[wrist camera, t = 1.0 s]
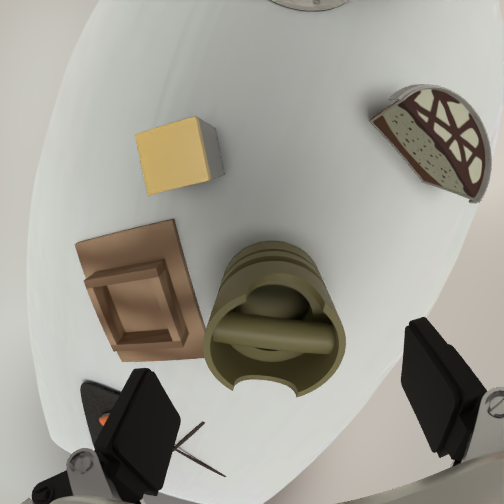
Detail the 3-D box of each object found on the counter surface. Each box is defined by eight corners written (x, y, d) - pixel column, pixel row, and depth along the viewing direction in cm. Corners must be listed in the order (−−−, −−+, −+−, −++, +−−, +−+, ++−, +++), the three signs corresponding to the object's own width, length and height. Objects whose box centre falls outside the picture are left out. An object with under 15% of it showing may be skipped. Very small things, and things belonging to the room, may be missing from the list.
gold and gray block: (170, 140, 29) (135, 134, 20) (215, 128, 28) (195, 116, 20) (179, 184, 30) (148, 195, 21) (224, 174, 30) (209, 180, 21)
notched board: (77, 242, 33) (61, 251, 29) (174, 218, 31) (162, 226, 28) (124, 358, 38) (114, 374, 34) (213, 353, 36) (209, 371, 33)
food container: (456, 157, 27) (511, 162, 18) (429, 191, 29) (482, 207, 19) (390, 77, 25) (435, 53, 16) (359, 111, 27) (399, 94, 17)
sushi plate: (82, 372, 41) (72, 385, 37) (251, 423, 42) (250, 441, 38) (99, 450, 50) (94, 461, 46) (220, 487, 51) (219, 499, 47)
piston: (324, 404, 24) (200, 391, 24) (309, 334, 35) (218, 323, 35) (363, 297, 20) (207, 277, 20) (330, 248, 32) (228, 234, 32)
